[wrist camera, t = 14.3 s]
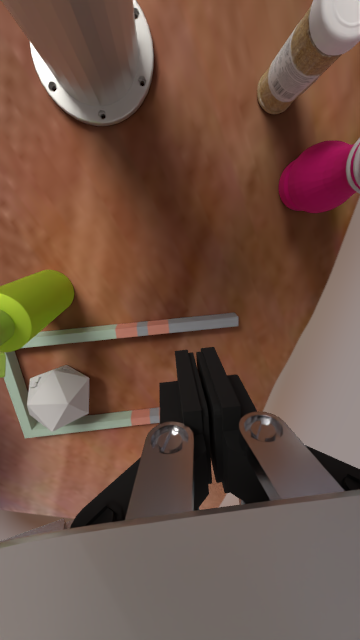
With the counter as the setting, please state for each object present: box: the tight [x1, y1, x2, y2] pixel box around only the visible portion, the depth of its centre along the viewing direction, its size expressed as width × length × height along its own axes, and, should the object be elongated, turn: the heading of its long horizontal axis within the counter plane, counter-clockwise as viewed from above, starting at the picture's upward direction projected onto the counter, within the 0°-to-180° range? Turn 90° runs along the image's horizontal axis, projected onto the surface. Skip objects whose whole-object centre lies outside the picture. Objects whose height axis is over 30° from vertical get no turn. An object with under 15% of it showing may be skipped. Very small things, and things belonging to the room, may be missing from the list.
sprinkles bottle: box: [257, 0, 360, 114], centre depth 24 cm, size 5×5×14 cm
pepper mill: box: [279, 138, 360, 213], centre depth 25 cm, size 7×7×20 cm
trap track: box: [4, 313, 238, 438], centre depth 41 cm, size 17×34×2 cm, turn 95°
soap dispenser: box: [0, 270, 74, 377], centre depth 27 cm, size 6×7×20 cm
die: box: [27, 365, 89, 432], centre depth 38 cm, size 8×9×10 cm
